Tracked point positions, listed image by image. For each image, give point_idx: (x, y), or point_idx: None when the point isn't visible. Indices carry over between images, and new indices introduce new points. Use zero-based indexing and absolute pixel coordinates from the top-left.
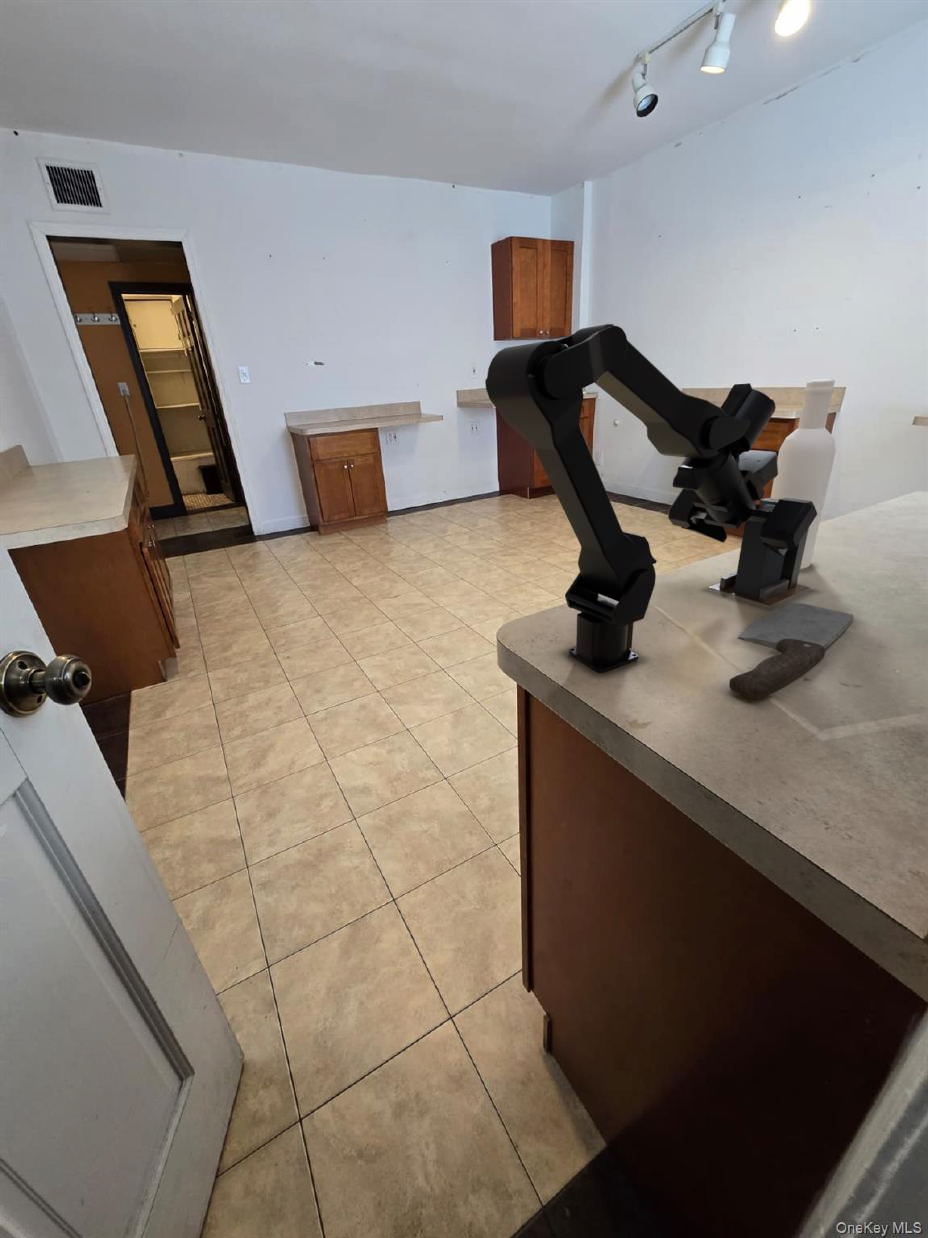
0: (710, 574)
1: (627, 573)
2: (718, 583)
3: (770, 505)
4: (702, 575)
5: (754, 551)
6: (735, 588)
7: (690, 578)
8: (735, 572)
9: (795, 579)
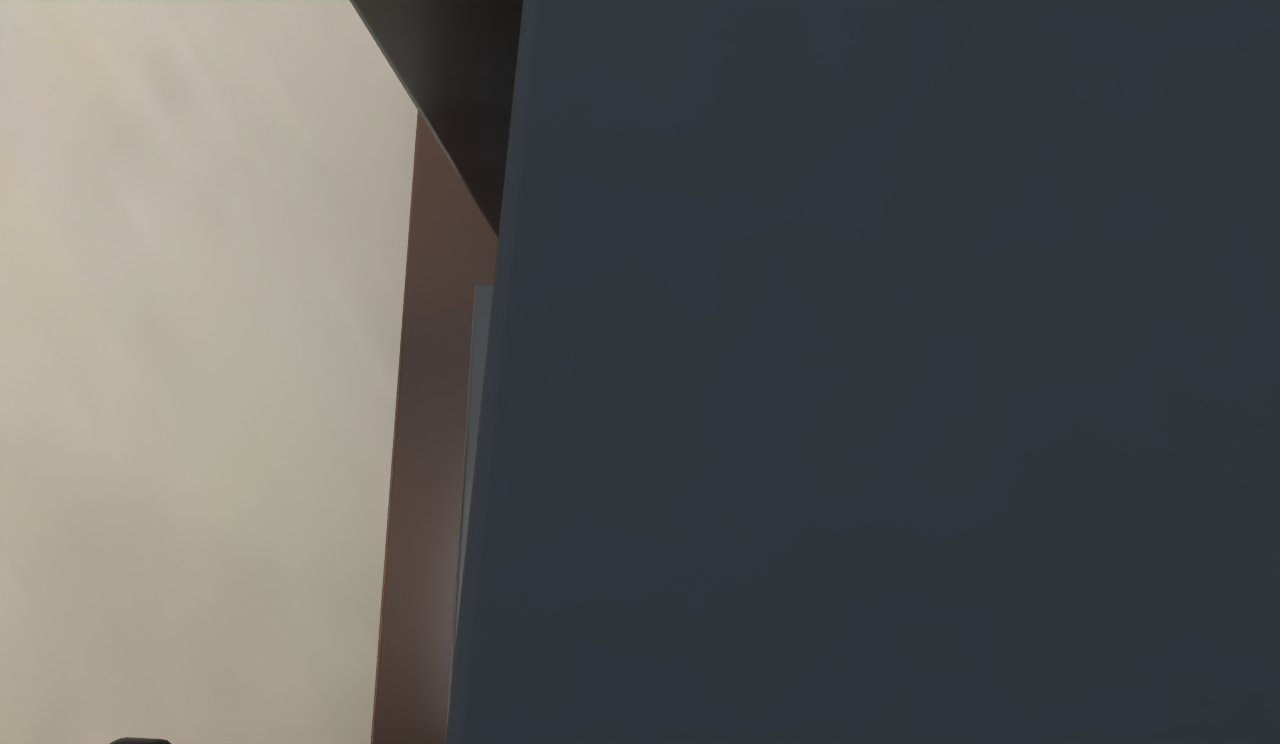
0: (137, 338)
1: None
2: (385, 640)
3: (751, 50)
4: (89, 427)
5: None
6: None
7: (40, 606)
8: (467, 490)
9: None
